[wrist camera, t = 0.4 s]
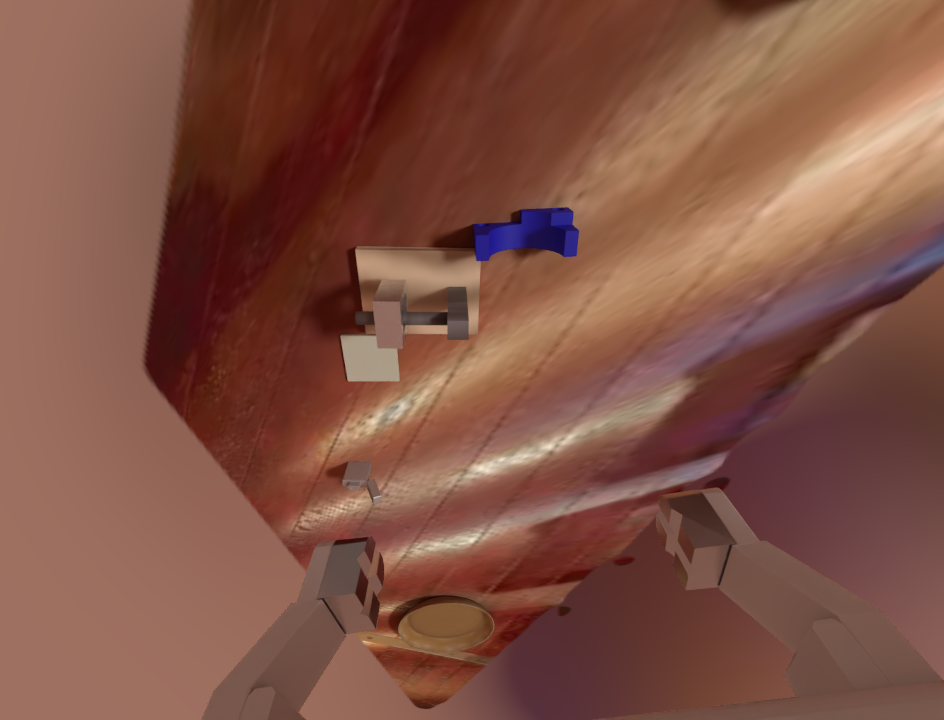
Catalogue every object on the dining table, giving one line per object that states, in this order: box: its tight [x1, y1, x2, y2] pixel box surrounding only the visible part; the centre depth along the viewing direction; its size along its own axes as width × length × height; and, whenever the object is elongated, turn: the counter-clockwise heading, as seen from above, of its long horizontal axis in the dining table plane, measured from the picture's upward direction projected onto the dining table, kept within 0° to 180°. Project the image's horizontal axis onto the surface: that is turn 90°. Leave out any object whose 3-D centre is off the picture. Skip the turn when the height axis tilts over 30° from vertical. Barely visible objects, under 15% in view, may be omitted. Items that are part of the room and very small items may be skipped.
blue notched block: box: [473, 207, 579, 261], centre depth 48 cm, size 12×4×6 cm, turn 92°
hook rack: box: [355, 246, 481, 340], centre depth 49 cm, size 12×16×12 cm
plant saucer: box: [398, 596, 494, 652], centre depth 100 cm, size 24×24×3 cm
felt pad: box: [340, 335, 400, 381], centre depth 60 cm, size 8×8×1 cm
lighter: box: [342, 461, 382, 505], centre depth 68 cm, size 7×2×8 cm, turn 84°
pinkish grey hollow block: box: [372, 279, 408, 349], centre depth 48 cm, size 6×3×7 cm, turn 178°
